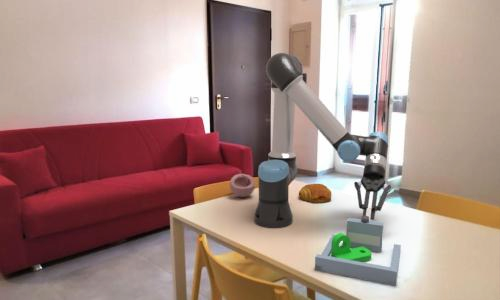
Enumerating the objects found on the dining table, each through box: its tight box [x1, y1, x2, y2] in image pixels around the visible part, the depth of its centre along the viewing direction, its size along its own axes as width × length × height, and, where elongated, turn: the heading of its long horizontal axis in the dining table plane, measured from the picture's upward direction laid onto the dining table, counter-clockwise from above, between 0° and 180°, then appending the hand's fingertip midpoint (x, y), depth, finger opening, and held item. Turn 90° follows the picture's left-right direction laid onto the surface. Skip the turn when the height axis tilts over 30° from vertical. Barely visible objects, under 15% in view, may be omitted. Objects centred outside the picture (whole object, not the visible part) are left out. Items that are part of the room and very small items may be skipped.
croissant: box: [298, 183, 332, 204], centre depth 174 cm, size 14×16×8 cm
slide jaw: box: [345, 215, 384, 253], centre depth 121 cm, size 11×3×11 cm, turn 66°
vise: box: [314, 234, 401, 286], centre depth 114 cm, size 22×24×4 cm
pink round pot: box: [229, 173, 256, 198], centre depth 178 cm, size 12×12×11 cm
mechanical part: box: [330, 232, 372, 263], centre depth 114 cm, size 12×6×8 cm, turn 112°
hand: (367, 227), depth 126 cm, fingers closed
